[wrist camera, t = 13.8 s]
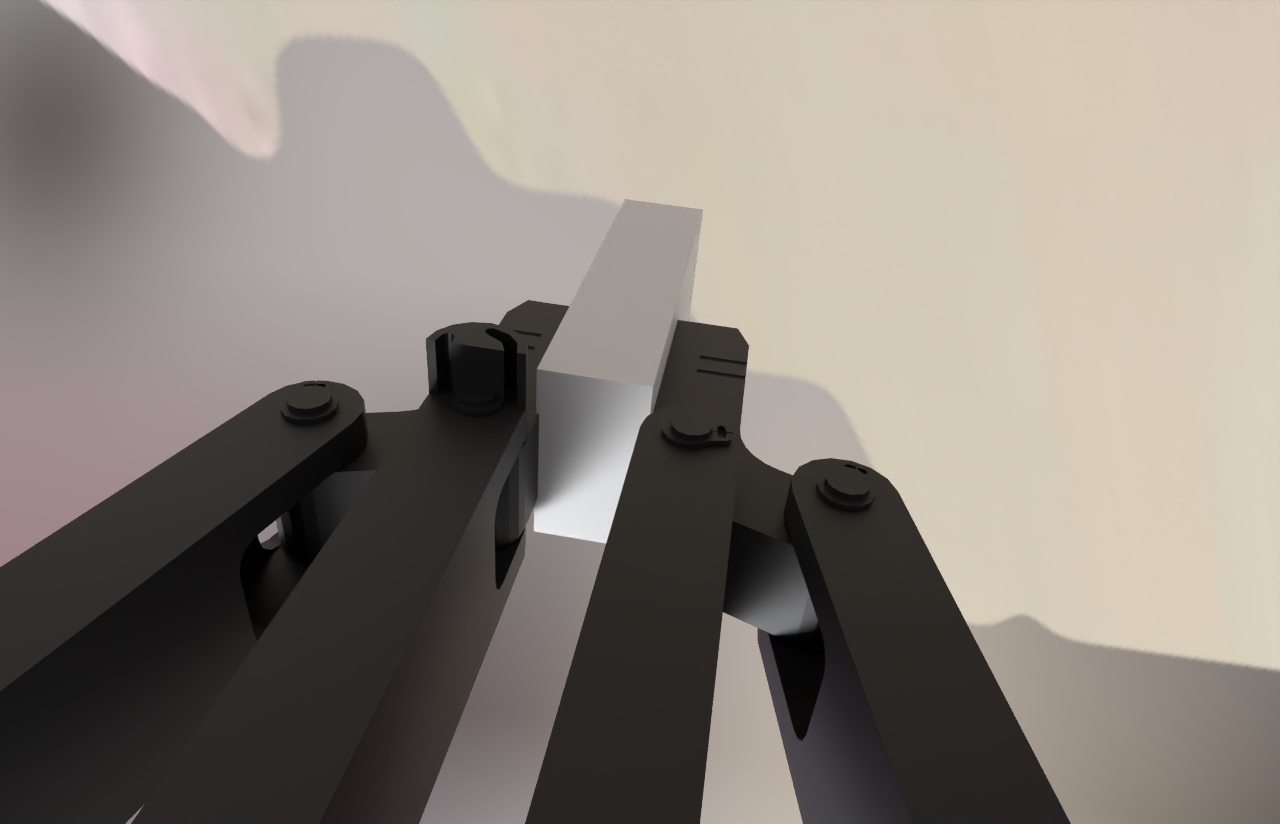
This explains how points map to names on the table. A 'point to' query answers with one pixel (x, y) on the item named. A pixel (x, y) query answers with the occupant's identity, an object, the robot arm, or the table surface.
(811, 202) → the table surface
